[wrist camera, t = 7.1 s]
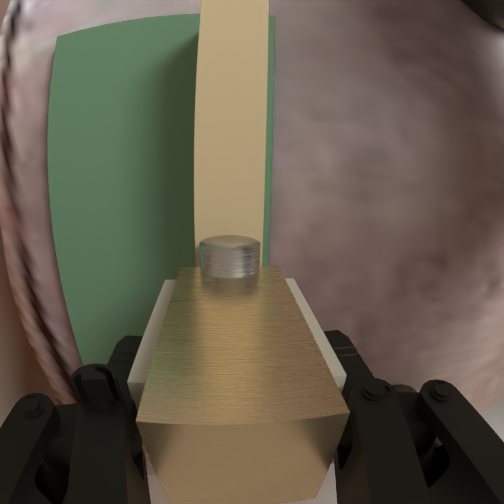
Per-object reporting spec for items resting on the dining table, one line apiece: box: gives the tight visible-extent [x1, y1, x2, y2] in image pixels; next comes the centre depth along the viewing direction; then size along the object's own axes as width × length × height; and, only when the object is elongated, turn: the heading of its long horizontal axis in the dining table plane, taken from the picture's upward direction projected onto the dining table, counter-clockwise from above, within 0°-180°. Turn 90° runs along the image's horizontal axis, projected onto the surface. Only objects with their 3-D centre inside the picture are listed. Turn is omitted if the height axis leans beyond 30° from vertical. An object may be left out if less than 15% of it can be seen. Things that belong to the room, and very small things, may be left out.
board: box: [47, 0, 275, 366], centre depth 17 cm, size 32×14×6 cm, turn 179°
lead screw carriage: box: [136, 235, 350, 504], centre depth 14 cm, size 21×10×13 cm, turn 179°
